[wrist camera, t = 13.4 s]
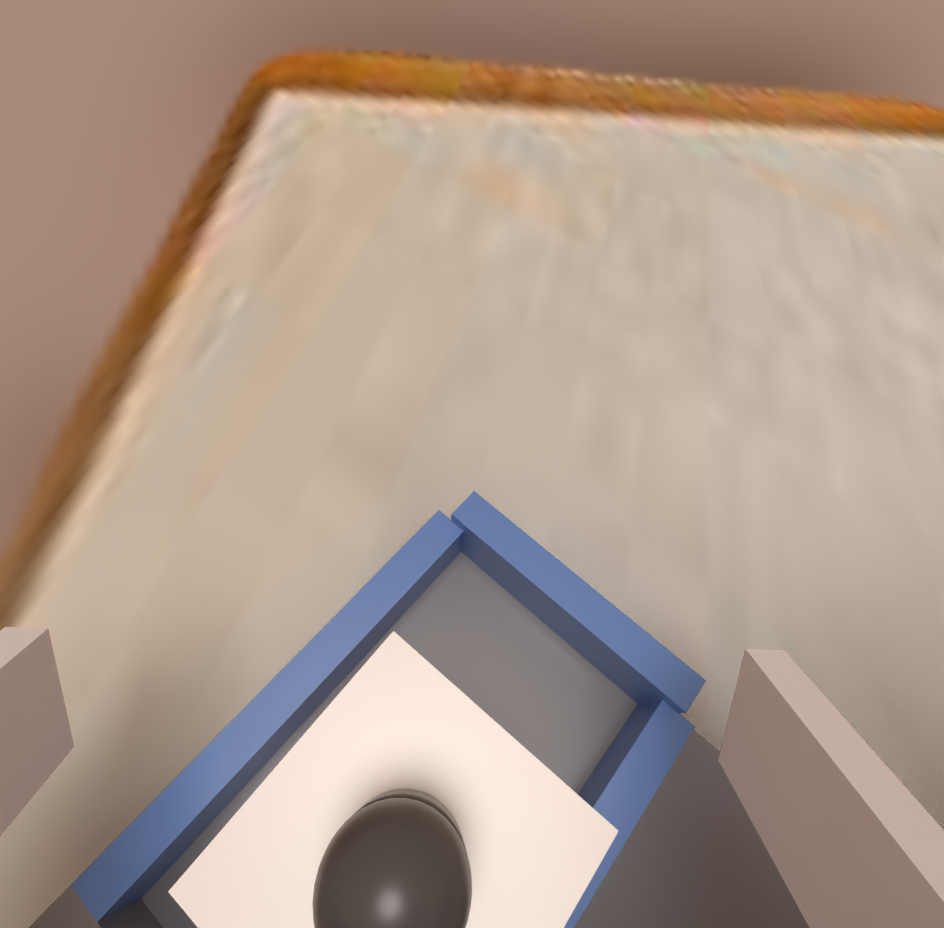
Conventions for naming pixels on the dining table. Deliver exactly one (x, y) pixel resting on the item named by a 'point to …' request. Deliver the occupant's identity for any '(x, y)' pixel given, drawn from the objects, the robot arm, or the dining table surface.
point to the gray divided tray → (515, 709)
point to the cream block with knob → (400, 820)
